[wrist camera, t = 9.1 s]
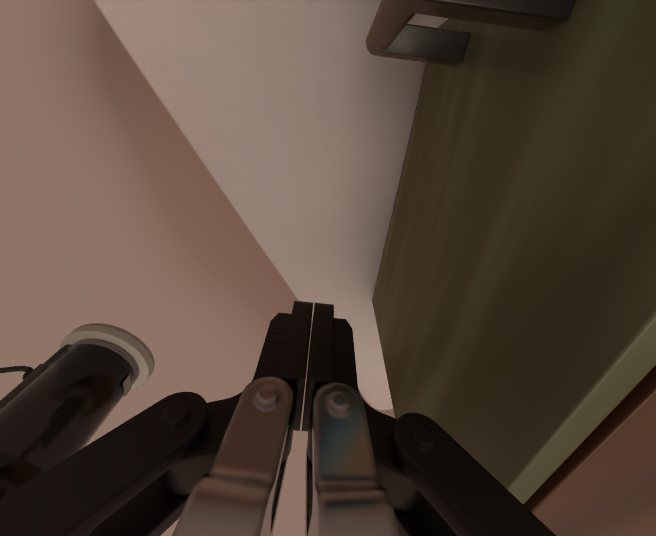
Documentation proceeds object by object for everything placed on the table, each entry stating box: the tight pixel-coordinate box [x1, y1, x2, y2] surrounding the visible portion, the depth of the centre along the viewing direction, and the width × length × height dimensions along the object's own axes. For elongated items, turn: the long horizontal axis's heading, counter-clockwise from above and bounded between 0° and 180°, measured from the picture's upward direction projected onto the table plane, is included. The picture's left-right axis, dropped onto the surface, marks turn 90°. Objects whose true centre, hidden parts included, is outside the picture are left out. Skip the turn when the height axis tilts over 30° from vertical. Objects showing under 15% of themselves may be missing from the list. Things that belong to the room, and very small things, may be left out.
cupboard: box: [523, 365, 656, 536], centre depth 19 cm, size 18×26×24 cm
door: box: [366, 0, 656, 504], centre depth 18 cm, size 7×26×24 cm, turn 174°
